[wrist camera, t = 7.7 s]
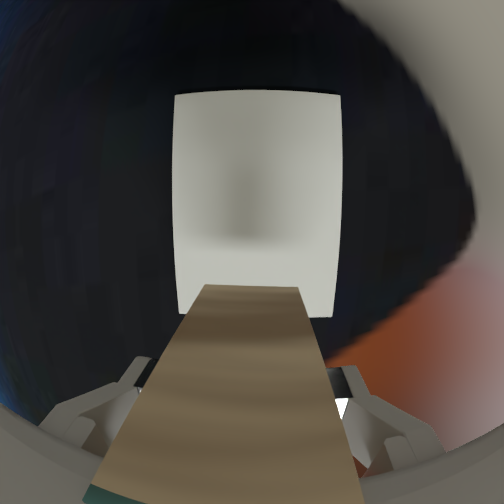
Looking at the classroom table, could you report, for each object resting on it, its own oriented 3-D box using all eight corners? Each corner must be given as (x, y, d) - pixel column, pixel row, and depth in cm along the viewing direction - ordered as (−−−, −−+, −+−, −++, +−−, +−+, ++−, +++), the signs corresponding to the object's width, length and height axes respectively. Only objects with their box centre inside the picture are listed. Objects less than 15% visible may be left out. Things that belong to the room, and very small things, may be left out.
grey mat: (177, 97, 14) (175, 95, 14) (338, 97, 14) (340, 95, 14) (180, 310, 18) (179, 313, 17) (330, 314, 17) (331, 316, 17)
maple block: (204, 283, 12) (81, 500, 2) (297, 286, 11) (371, 528, 2) (208, 360, 12) (150, 552, 3) (290, 363, 12) (314, 565, 3)
